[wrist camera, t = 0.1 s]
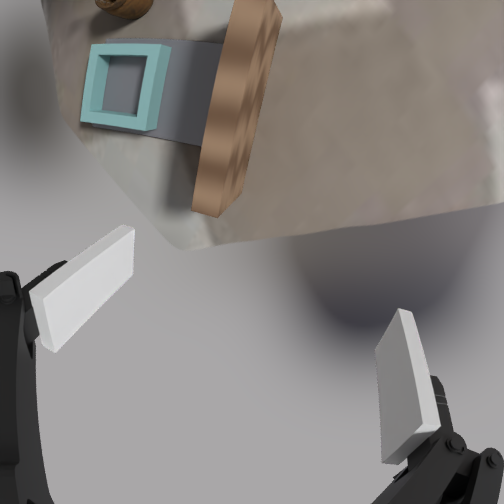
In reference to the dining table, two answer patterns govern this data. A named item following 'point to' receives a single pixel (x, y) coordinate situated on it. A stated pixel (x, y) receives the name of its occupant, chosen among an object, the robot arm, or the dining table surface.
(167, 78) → the grey flat plate
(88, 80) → the socket frame
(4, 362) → the robot arm
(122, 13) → the utensil holder
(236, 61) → the backstop wall
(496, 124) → the dining table surface
